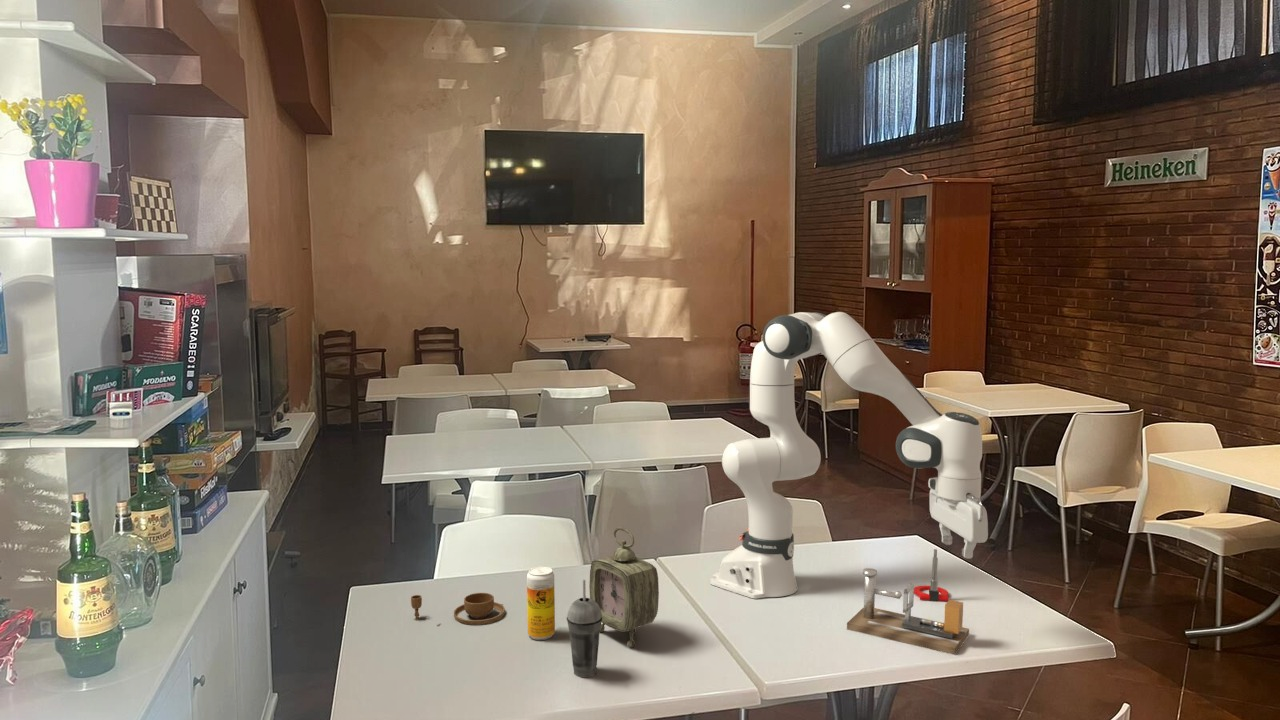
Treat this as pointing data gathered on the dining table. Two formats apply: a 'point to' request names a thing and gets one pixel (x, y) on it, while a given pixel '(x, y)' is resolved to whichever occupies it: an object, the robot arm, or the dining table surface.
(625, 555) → the tabletop clock
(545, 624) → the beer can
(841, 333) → the robot arm
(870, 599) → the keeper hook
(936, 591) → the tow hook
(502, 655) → the dining table surface
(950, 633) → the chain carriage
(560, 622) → the dining table surface
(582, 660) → the beverage cup
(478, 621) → the place setting
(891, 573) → the dining table surface
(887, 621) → the board
